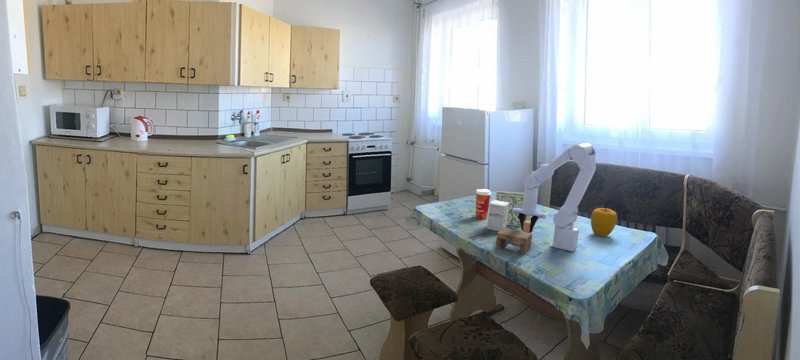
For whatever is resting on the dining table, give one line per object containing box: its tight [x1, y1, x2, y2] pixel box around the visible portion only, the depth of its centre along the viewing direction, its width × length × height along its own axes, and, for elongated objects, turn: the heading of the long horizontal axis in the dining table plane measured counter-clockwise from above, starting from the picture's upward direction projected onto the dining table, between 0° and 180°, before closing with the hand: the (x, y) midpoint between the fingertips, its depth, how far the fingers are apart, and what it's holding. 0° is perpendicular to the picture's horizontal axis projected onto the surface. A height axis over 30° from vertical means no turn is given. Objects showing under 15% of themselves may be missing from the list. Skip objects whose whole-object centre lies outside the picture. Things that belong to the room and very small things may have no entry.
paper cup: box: [475, 188, 492, 221], centre depth 222 cm, size 8×8×14 cm
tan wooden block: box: [510, 220, 532, 246], centre depth 194 cm, size 3×18×6 cm, turn 148°
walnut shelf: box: [495, 227, 533, 255], centre depth 185 cm, size 12×8×6 cm, turn 59°
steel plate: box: [504, 243, 522, 252], centre depth 185 cm, size 5×5×1 cm
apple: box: [590, 207, 618, 238], centre depth 204 cm, size 11×11×13 cm
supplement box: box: [486, 199, 510, 232], centre depth 207 cm, size 7×7×13 cm
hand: (526, 230), depth 201 cm, fingers closed on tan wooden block, 3 cm apart
